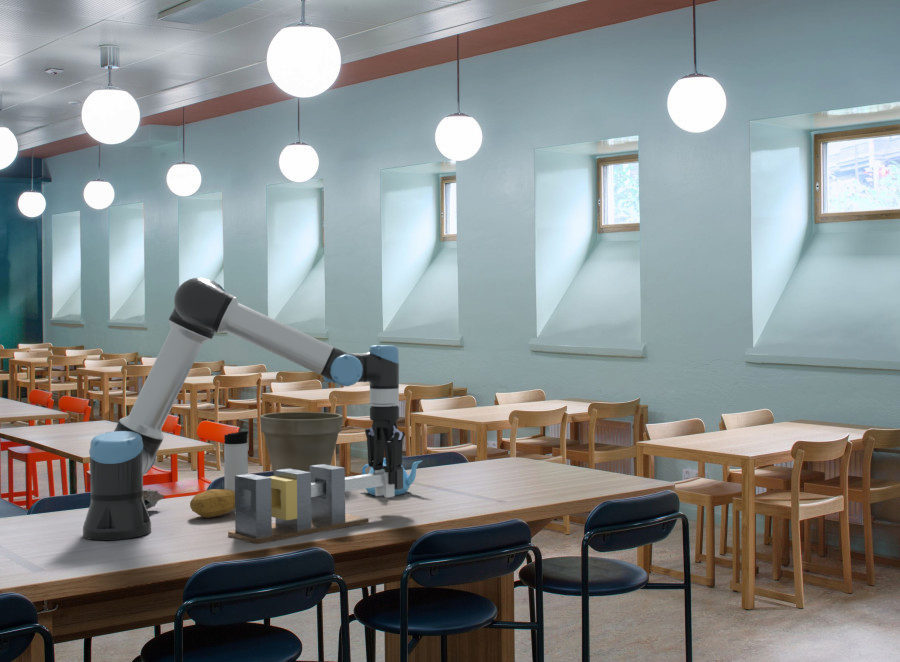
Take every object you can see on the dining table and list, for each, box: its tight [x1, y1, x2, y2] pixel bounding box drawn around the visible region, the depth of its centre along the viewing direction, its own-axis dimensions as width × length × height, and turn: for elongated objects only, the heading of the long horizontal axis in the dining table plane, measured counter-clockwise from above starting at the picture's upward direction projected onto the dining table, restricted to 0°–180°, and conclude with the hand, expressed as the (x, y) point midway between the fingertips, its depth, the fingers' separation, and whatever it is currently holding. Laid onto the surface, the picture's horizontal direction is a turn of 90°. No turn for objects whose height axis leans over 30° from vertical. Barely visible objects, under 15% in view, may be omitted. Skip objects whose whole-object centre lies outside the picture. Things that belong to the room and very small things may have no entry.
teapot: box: [361, 457, 422, 497], centre depth 276 cm, size 15×15×10 cm
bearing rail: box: [227, 464, 369, 545], centre depth 227 cm, size 32×12×14 cm, turn 134°
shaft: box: [279, 465, 404, 500], centre depth 236 cm, size 35×6×6 cm, turn 134°
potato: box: [189, 488, 235, 519], centre depth 244 cm, size 9×13×7 cm
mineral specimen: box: [143, 488, 165, 511], centre depth 251 cm, size 10×8×10 cm
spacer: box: [269, 475, 297, 520], centre depth 223 cm, size 3×9×9 cm, turn 44°
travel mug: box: [223, 430, 249, 492], centre depth 261 cm, size 6×7×20 cm
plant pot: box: [259, 411, 344, 476], centre depth 290 cm, size 25×25×22 cm
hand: (384, 495), depth 245 cm, fingers closed on shaft, 3 cm apart
